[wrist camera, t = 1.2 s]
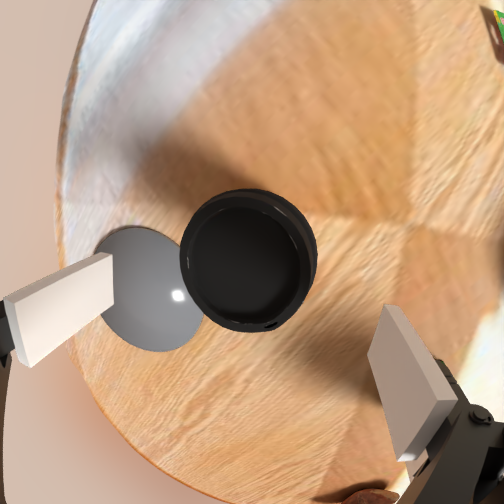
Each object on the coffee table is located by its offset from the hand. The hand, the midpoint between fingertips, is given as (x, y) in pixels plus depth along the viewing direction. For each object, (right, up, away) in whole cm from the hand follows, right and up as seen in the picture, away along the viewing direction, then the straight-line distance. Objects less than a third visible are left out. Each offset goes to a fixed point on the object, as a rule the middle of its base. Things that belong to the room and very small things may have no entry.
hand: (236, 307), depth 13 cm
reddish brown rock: (+22, -44, +26) cm, 55 cm away
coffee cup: (+2, +5, +17) cm, 18 cm away
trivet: (-12, -2, +21) cm, 25 cm away
